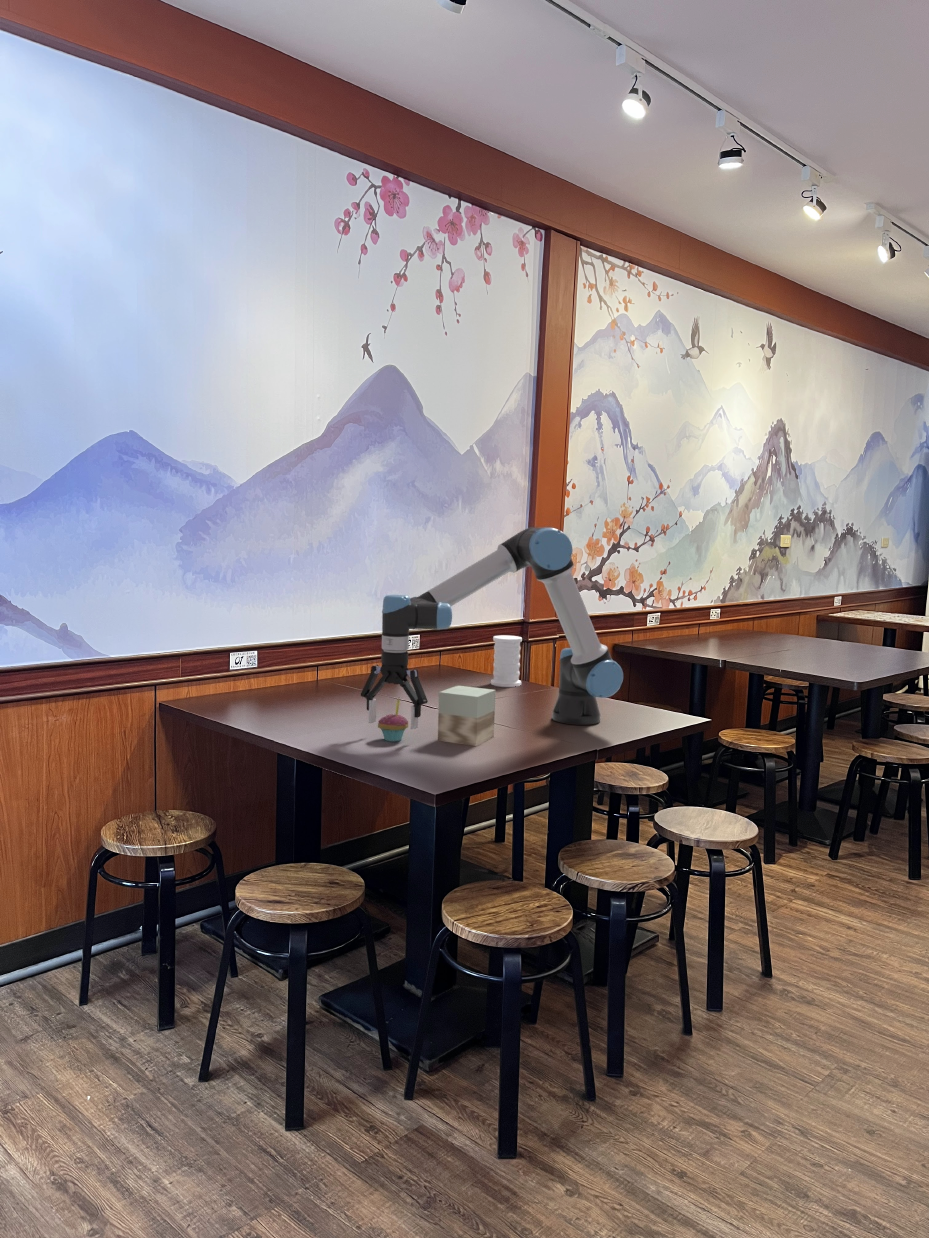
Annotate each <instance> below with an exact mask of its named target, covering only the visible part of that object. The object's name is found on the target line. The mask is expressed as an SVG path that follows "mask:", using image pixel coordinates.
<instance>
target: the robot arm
mask: <svg viewBox="0 0 929 1238" xmlns="http://www.w3.org/2000/svg"><path fill="white" fill-rule="evenodd" d="M572 555H573V544H572V541H571V540H570V538H569V536H568V535H567V534H566V533H564V532H563V531H562V530H560V529H557V528H555V527H548V526H546V527H538V526H536V527H535V526H531V527H528V528H524V529H523V530H522V531H521V530H520V531H519V532H518V533H516V534H514V535H512V536H511V537H510V538H508V539H507V540H504V541H503V542H501V543H500V544H498V546H497V548H496V550H494V551H492V552H491V553H490V554H488V555H487V556H484V557H483V558H481V559H479V560H478V561H476V562H474V563H473V564H471V565H469V566H468V567H466V568H464V569H463V570H461V571H459V572H457V573H456V574H454V575H452V576H450V577H449V578H448V579H446V580H444V581H442V582H441V583H439V584H437V585H435V586H433V587H432V588H430V589H429V590H427V591H426V592H424V593H422V594H420V595H418V596H413V597H410V596H409V595H406V594H387V595H385V596H383V601H382V609H381V613H382V616H381V619H382V621H381V623H382V624H381V625H382V626H381V649H382V651H381V654H380V655H381V658H380V659H381V660H380V663H381V666H380V665H378V664H375V665H372V666H371V667H370V674H369V676H368V678H367V679H366V682H365V684H364V686H363V688H362V690H361V692H360V696H361V697H362V698H365V699H366V711H368V724H374V723H375V722H376V721H377V699H376V698H375V697H376V696H377V694H379V692H380V691H381V690H382V688H383V687H385V685H387V684H394V685H399V686H400V687H402V689H403V690H404V692H405V694H406V695H407V697H408V698H409V700H410V701H411V703H412V704H413V705H411V706H410V708H411V709H410V730H415V729H418V727H419V718H420V717H421V714H422V712H421V711H422V705H426V704H428V699H427V698H428V697H427V695H426V693H425V690H424V687H423V686H422V683H421V680H420V678H419V670H418V669H417V668H416V669H409V668H408V664H409V652H408V650H409V647H410V643H409V641H410V630H438V631H440V630H447V629H449V628H450V627H451V626H452V622H453V609H452V607H453V606H454V605H457V603H460V602H461V601H463V600H465V599H466V598H468V597H469V596H471V595H473V594H474V593H476V592H478V591H479V590H481V589H483V588H484V587H486V586H488V585H489V584H491V583H493V582H495V581H496V580H497V581H498V579H500V578H502V577H504V576H505V575H507V574H509V573H516V572H518V571H520V570H523V569H525V568H528V567H531V569H532V571H533V574H534V576H535V578H536V580H537V581H538V582H541V583H543V584H544V587H545V589H546V592H547V593H548V596H549V599H550V601H551V604H552V606H553V608H554V611H555V613H556V616H557V618H558V621H559V623H560V625H561V626H560V627H561V628H562V630H563V633H564V635H565V637H566V640H567V641H568V644H569V645H568V646H569V647H566V648H562V650H561V651H560V656H559V675H558V676H559V678H558V680H559V682H558V696H557V697H556V698H557V699H556V701H555V704H554V707H553V710H552V715H551V719H552V720H553V721H554V722H557V723H561V724H565V725H566V724H567V725H574V726H583V725H584V726H587V725H588V726H589V725H596V724H599V723H600V722H601V711H600V707H599V704H598V701H597V698H600V699H605V698H610V697H612V696H613V695H615V694H616V693H617V692H618V691H619V690H620V688H621V686H622V683H623V680H624V672H623V669H622V667H621V665H620V664H618V662H617V661H615V660H613V659H612V656H611V653H610V650H609V648H608V646H607V645H606V644H602V643H601V642H600V640H599V638H598V637H599V636H598V634H597V632H596V629H595V628H594V625H593V623H592V620H591V618H590V616H589V612H588V610H587V608H586V605H585V604H584V600H583V598H582V595H581V593H580V590H579V588H578V586H577V583H576V580H575V578H574V576H573V573H572V570H573V568H574V566H575V565H574V562H573V559H572ZM379 674H381V675H382V677H380V678H379V680H378V682H377V683H376V684H375V681H376V679H377V678H378V676H379ZM408 677H409V678H410V680H409V679H408ZM410 682H411V683H410ZM374 684H375V685H374ZM411 684H412V685H411Z"/></svg>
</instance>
